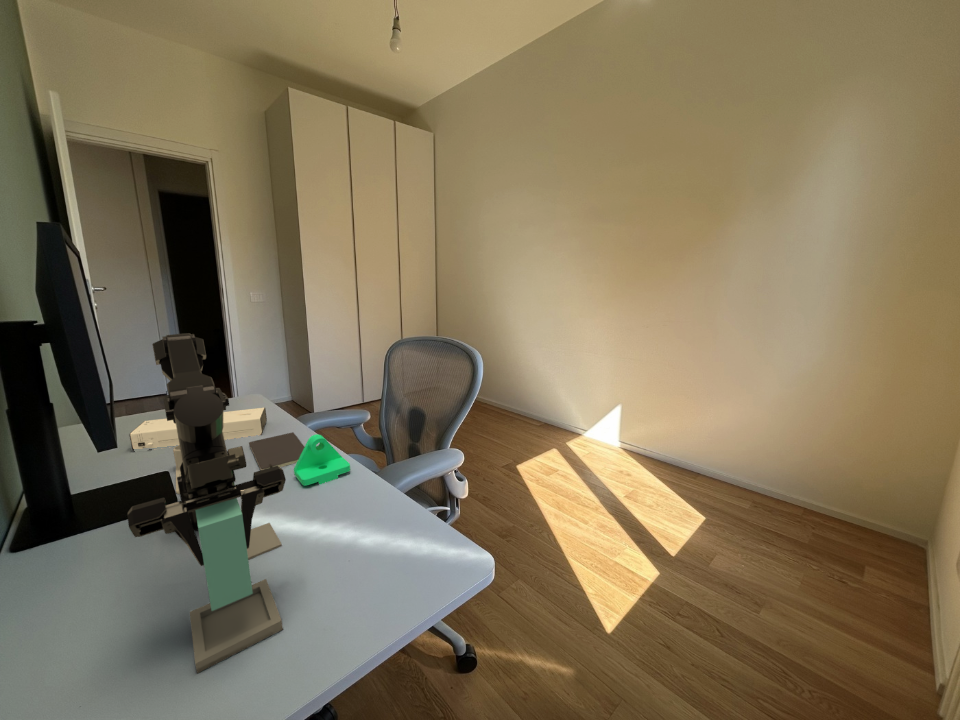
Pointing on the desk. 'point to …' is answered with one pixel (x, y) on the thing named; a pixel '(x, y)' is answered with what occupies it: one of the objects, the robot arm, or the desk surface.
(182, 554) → the desk surface
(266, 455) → the notebook
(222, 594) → the tall green square pillar
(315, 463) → the green mounting bracket
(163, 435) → the laminator
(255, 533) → the lid
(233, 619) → the shallow beige square tray
